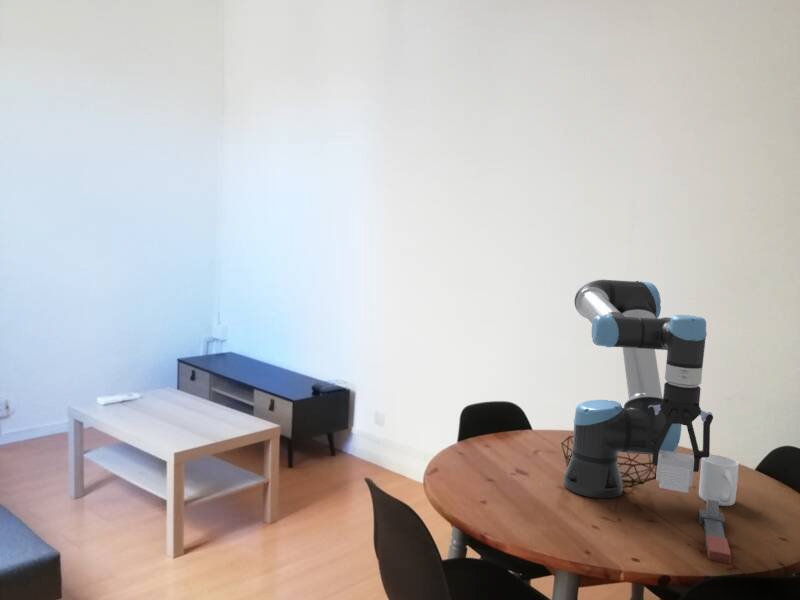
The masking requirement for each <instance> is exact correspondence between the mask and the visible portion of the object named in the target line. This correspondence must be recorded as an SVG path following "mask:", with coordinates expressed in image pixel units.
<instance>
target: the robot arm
mask: <svg viewBox="0 0 800 600" xmlns="http://www.w3.org/2000/svg"><path fill="white" fill-rule="evenodd" d="M574 296H575V297H574V307H575V309H576V311H577V312H578V314H579V315H580V316H581V317H582V318H583V319H584V318H585V319H587V320H588V321H589V322H590V323H591V338H592V340H591V341H592V343H593V344H594V345H595V346H600V347H606V348H622V352H623V360H624V361H623V362H624V370H625V379H626V386H627V394H628V399H627V400H626V402H625V403H624V405H623V406H622V404H621V403H620V402H619V401H616V400H608V399H593V400H587V401H583V402H581V403H579V404H578V405H577V406H576V408H575V413H574V417H573V425H574V426H573V436H572V437H573V438H572V450H571V452H572V453H571V458H570V461H569V462H568V465H567V468H566V470H565V472H564V474H563V487H565V488H566V489H567V490H569V491H570V492H572V493H575V494H577V495H580V496H583V497H588V498H593V499H614V498H618V497H620V496H621V495H622V494H623V479H622V476H621V472H620V468H619V464H618V459H619V458H618V457H619V453H628V454H638V455H648V456H649V455H650V456H652V460H651V463H652V465H653V466H656V475H655V476H656V477H655V481H657V482H659V481H660V471H661V461H662V450H664V451H670V452H676V450H677V449H678V446H679V443H680V440H681V436H682V435H681V434H682V426H686V428H687V432H688V436H689V441H690V444H691V449H692V452H693V454H689V455H690V459H691V469H690V480H689V488H690V487H691V488H692V487H693V478H694V472H695V473H699V471H700V464H701V462H700V461H701V460H702V458H703V457H706V458H708V457H709V455H710V449H711V448H710V447H711V446H710V444H711V440H710V439H711V424H712V422H713V419H714V415H713V413H712V412H707V411H704V410H702V408H701V407H700V402H701V401H700V399H701V387H700V386H701V384H702V379H703V378H702V377H703V365H704V357H705V349H706V348H705V347H706V339H707V335H708V334H707V321H706V319H705V318H704V317H701V316H697V315H689V314H675V315H672V316H671V317H664V316H663V317H660V314H661V308H662V306H661V303H662V301H661V295H660V292H659V290H658V288H657V285H655V284H653V283H652V282H649V281H642V280H636V281H634V280H633V281H632V280H616V279H615V280H614V279H611V280H610V279H597V280H593V281H590V282H588V283H586V284H584V285H583V286H582V287H580V288H579V289H578V290H577V292H576V293H575V295H574ZM659 317H660V318H659ZM656 350H658V351H659V350H661V351H662V350H663V351H666V363H665V374H664V379H665V381H666V382H665V383H664V384H663V385H664V386H663V392H662V387H661V380H660V374H659V368H658V360H657V355H656ZM699 385H700V386H699ZM699 416H700V417H701V418H700V419H701V421H702V422H703V423H702V427H703V428H702V450H699V446H698V442H697V437H696V432H695V430H694V429H695V428H694V425H693V422H694V421H695V420H696V419H697V418H698V417H699Z"/></svg>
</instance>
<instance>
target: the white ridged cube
mask: <svg viewBox="0 0 800 600" xmlns="http://www.w3.org/2000/svg"><path fill="white" fill-rule="evenodd" d="M690 455H691V454H688V453H682V452H676V451H675V452H670V451H664V450H662V461H661V471H660V481H658V485H659V489H665V490H670V491H674V492H675V491H676V492H680V493H687V494H689V488H690V486H689V480H690V469H691V459H690Z"/></svg>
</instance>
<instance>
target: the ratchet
mask: <svg viewBox="0 0 800 600" xmlns="http://www.w3.org/2000/svg"><path fill="white" fill-rule="evenodd" d="M705 505H706V507H705V509H704V508H703V509H702V508H699V511H698V519H699V525H700V526H703V530H704V535H705V547H706V553H707V558H708V560H710V561H713V562H719V563H724V564H728V565H730V564H731V560H732V559H731V558H732V554H731V549H730V546H729V541H728V538H727V537H726V533H725V522H726V521H725V518H724V517H725V516H724V513H723V512H720V511H719V510H720V505H719V498H718V497H712V496H707V502H706V504H705Z"/></svg>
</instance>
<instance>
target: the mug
mask: <svg viewBox="0 0 800 600" xmlns="http://www.w3.org/2000/svg"><path fill="white" fill-rule="evenodd" d="M700 461H701V462H700V474H699V483H698V484H699V485H698V497H699V498H700V499H701V500H702V501H704V502H706V503H707V496H712V497H718V498H719V507H729V506H734V504H735V503H736V498H737V488H738V480H739V469H740V463H739V462H738V460H735V459H734V458H731V457H727V456H724V455H718V454H709V457H708V458H706V457H703V458H701V459H700Z"/></svg>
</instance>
